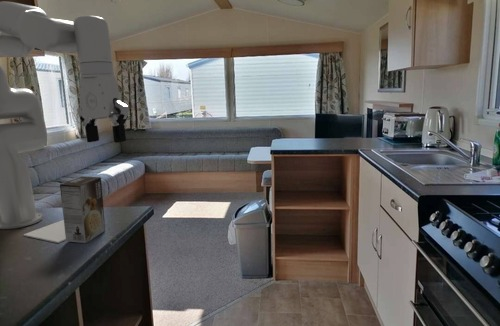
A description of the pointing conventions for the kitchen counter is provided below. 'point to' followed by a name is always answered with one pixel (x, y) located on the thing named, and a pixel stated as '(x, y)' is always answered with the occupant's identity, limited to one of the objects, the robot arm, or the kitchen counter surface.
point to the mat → (50, 233)
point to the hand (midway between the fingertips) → (106, 141)
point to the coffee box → (82, 209)
